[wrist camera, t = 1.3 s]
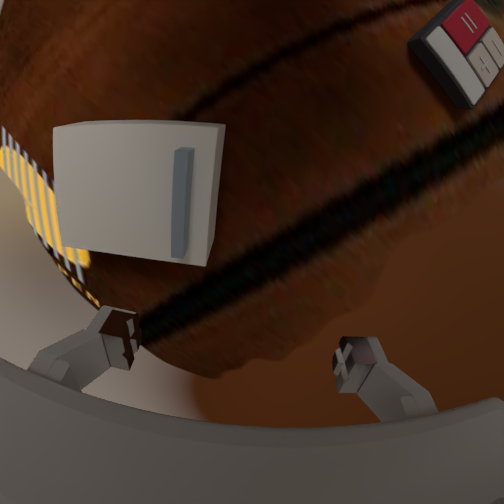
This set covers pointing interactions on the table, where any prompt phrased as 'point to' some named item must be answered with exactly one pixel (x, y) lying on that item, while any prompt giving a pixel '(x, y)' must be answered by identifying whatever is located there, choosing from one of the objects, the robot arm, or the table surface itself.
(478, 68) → the calculator
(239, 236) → the table surface
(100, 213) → the lid
